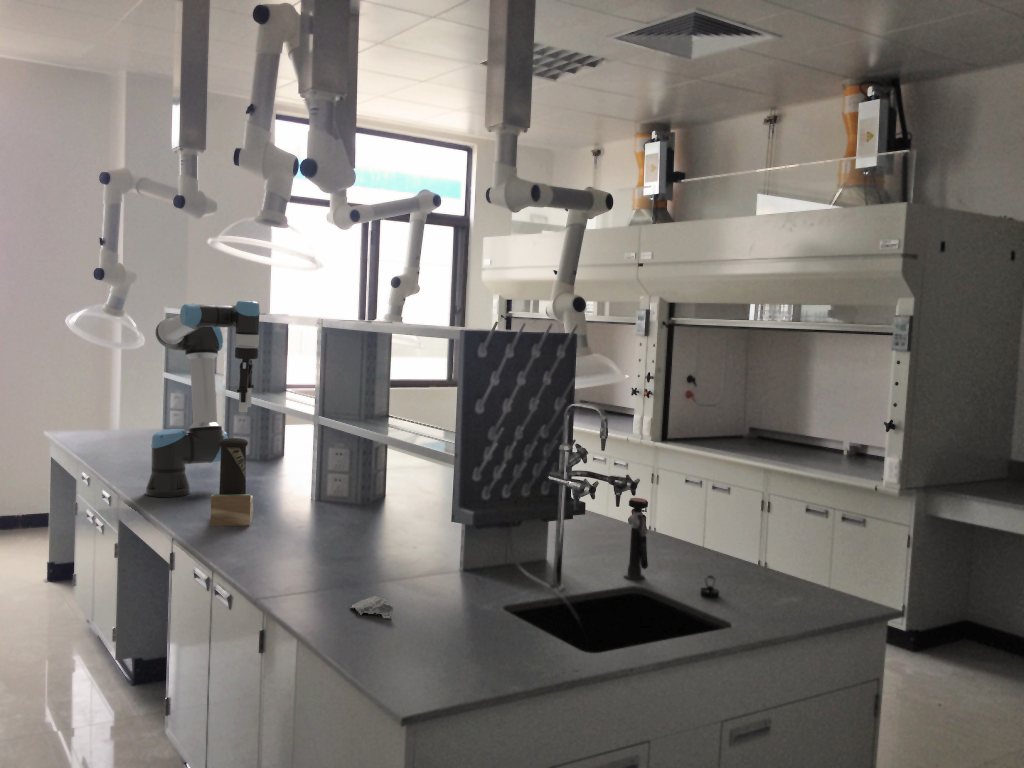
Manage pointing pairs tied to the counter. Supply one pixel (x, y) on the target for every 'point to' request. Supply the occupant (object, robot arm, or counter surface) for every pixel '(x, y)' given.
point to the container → (233, 466)
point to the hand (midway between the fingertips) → (245, 409)
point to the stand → (231, 509)
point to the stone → (374, 606)
